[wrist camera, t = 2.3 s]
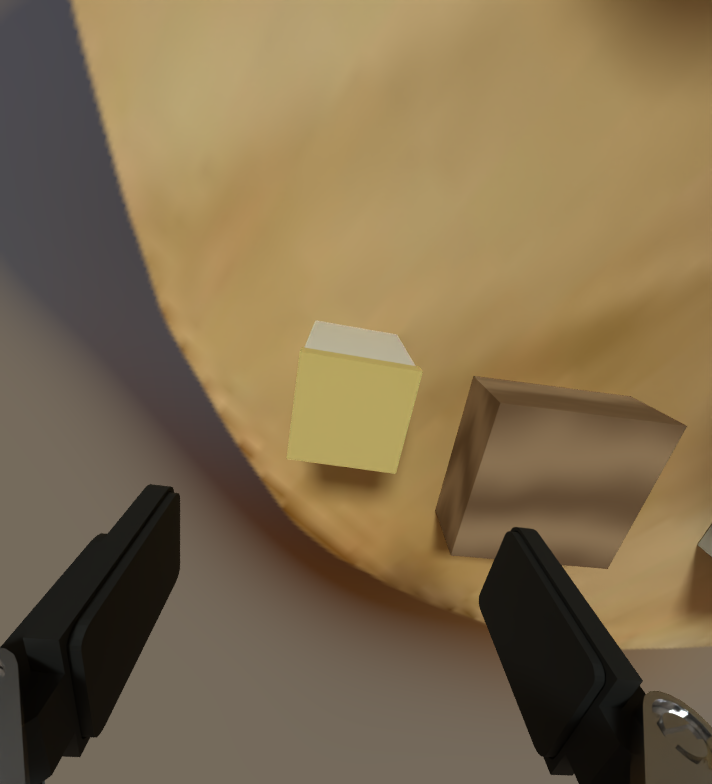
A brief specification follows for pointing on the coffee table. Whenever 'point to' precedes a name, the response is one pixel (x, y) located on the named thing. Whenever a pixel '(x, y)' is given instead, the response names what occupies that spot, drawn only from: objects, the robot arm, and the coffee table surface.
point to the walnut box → (551, 469)
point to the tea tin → (352, 398)
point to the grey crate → (707, 542)
